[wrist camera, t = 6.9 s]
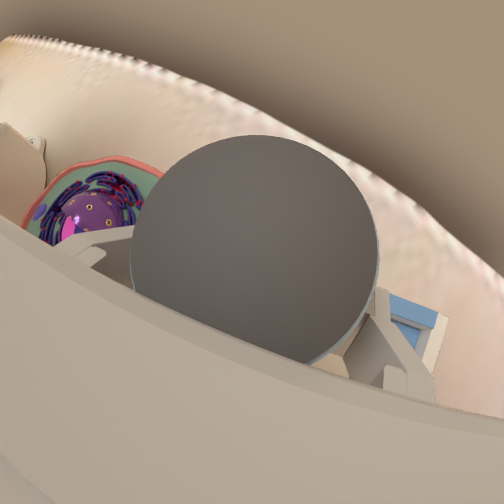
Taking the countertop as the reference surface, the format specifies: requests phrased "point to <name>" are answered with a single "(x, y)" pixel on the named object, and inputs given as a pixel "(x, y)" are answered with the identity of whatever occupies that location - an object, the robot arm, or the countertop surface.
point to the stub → (259, 245)
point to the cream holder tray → (404, 334)
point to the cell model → (90, 198)
